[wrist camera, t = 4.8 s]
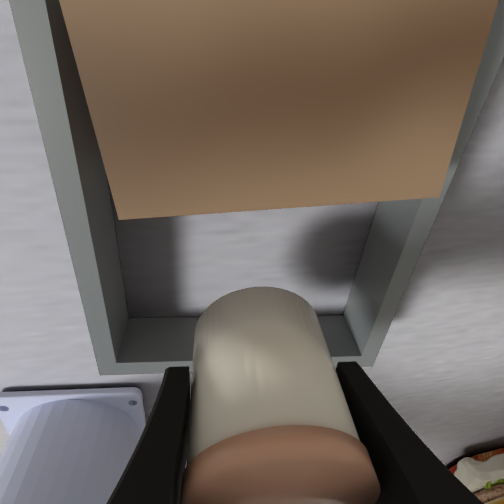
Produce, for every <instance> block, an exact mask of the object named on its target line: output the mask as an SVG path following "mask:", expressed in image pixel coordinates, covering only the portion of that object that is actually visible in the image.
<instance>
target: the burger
mask: <svg viewBox="0 0 504 504" xmlns="http://www.w3.org/2000/svg"><path fill="white" fill-rule="evenodd" d="M449 470H450V471H451V472H452V473H453V474H454V475H455V476H456V477H457V478H458V479H459V480H460V481H461V482H462V483H463V484H464V485H465V486H466V487H467V488H468V489H469V490H470V491H471V492H472V493H473V494H474V495H475V496H476V497H477V498H478V499H480V500H481V501H482V502H483V503H484V504H504V448H501V449H497V450H493V451H489V452H486V453H482V454H478V455H475V456H472V457H466V458H463V459H461V460H460V461H459V462H458V463H457V464H456V465H454V466H452V467H451V468H449Z"/></svg>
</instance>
